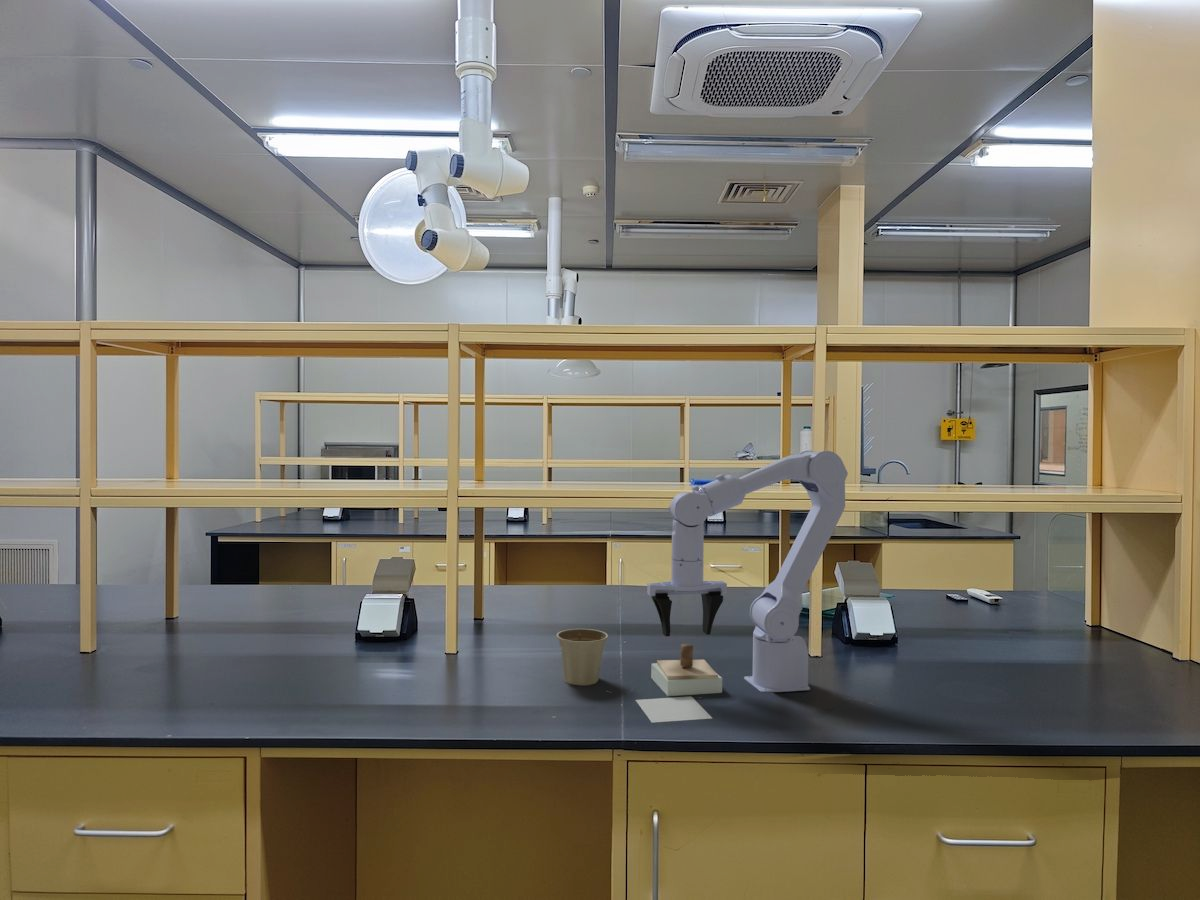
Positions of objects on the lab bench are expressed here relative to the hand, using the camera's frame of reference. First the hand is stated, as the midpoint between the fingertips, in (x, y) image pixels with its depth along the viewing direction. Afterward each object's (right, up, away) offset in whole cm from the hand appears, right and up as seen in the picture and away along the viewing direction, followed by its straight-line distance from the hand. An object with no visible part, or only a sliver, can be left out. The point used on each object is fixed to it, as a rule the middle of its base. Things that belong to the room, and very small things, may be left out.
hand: (686, 634), depth 128 cm
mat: (-4, -10, -12) cm, 16 cm away
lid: (0, -7, 0) cm, 7 cm away
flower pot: (-19, -10, +2) cm, 21 cm away
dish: (0, -10, 0) cm, 10 cm away
